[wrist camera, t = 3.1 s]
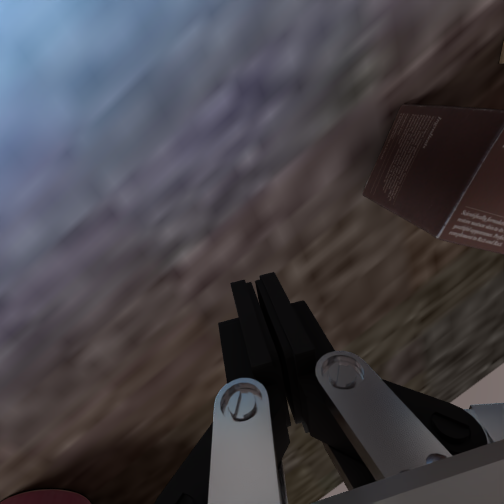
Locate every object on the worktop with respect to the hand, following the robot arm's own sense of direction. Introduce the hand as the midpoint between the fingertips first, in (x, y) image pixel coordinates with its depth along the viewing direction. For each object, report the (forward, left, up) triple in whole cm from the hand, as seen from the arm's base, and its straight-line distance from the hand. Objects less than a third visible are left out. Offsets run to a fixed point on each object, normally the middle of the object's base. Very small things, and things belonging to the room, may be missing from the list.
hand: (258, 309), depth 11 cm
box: (-1, +13, -10) cm, 16 cm away
